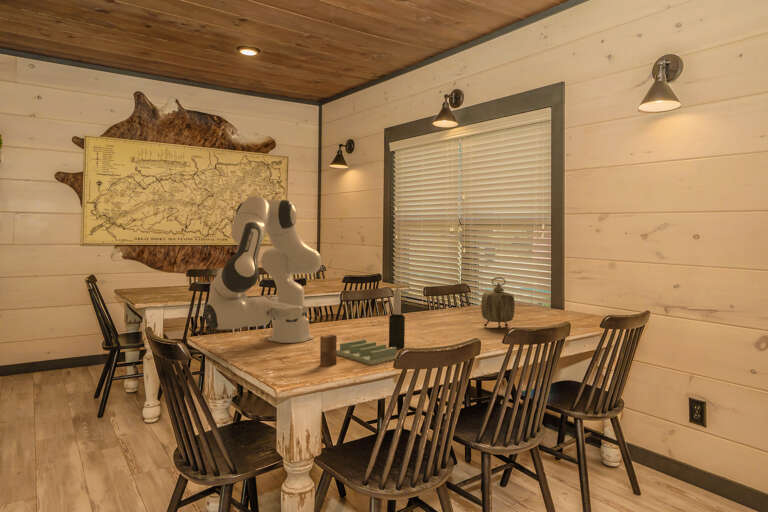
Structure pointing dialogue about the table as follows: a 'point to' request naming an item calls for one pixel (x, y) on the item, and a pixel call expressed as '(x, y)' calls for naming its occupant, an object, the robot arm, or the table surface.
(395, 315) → the candle
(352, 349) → the rack
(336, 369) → the table surface
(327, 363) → the block
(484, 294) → the tabletop clock
